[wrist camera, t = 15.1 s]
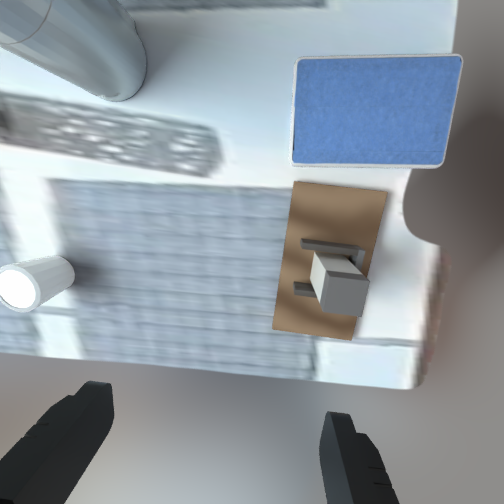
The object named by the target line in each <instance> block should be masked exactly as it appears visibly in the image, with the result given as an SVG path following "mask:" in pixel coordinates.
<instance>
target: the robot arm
mask: <svg viewBox="0 0 504 504" xmlns="http://www.w3.org/2000/svg"><path fill="white" fill-rule="evenodd" d="M0 47H2V48H4V49H5V50H7V51H9V52H11V53H13V54H15V55H17V56H19V57H21V58H23V59H25V60H27V61H29V62H31V63H33V64H35V65H37V66H39V67H41V68H43V69H45V70H47V71H49V72H51V73H53V74H55V75H57V76H59V77H61V78H63V79H65V80H67V81H69V82H70V83H72V84H74V85H76V86H78V87H80V88H82V89H84V90H86V91H88V92H89V93H91V94H93V95H96V96H98V97H100V98H102V99H105V100H108V101H112V102H114V101H123V100H126V99H128V98H130V97H132V96H133V95H134V94H135V93H136V92H137V91H138V90H139V88H140V87H141V85H142V83H143V81H144V78H145V74H146V69H147V63H146V54H145V50H144V47H143V44H142V42H141V40H140V38H139V37H138V35H137V33H136V31H135V21H134V20H133V19H132V17H131V16H130V15H129V14H128V13H127V12H126V10H125V9H124V8H123V7H122V6H121V4H120V3H119V2H118V1H117V0H0ZM113 419H114V406H113V394H112V386H111V384H110V383H103V382H95V381H88V382H86V383H85V384H84V385H83V386H82V387H81V388H80V389H79V391H78V392H77V393H76V394H75V395H74V396H71V395H68V396H66V397H65V398H63V399H62V400H60V401H59V402H57V403H56V404H54V405H53V406H51V407H50V408H49V410H48V411H47V412H46V413H45V414H44V415H43V416H42V417H41V418H40V419H39V420H38V421H37V423H36V425H33V426H32V427H31V428H30V429H29V431H28V432H27V433H26V434H25V436H24V437H23V438H21V439H20V440H19V441H18V442H17V443H16V444H15V445H14V447H12V449H10V451H9V452H8V453H7V454H6V455H5V456H4V457H3V458H2V459H1V460H0V504H64V503H65V502H66V500H67V498H68V497H69V495H70V494H71V492H72V491H73V489H74V487H75V486H76V484H77V483H78V481H79V479H80V478H81V476H82V475H83V473H84V471H85V470H86V468H87V467H88V465H89V464H90V462H91V460H92V459H93V457H94V456H95V454H96V452H97V451H98V449H99V448H100V446H101V444H102V443H103V441H104V440H105V438H106V436H107V435H108V433H109V431H110V429H111V427H112V424H113ZM319 455H320V464H321V470H322V476H323V481H324V487H325V493H326V498H327V504H399V501H398V499H397V497H396V494H395V491H394V489H392V484H391V481H390V479H389V476H388V474H387V473H386V470H385V466H384V464H383V461H382V459H381V456H380V454H379V451H378V449H377V448H376V447H375V445H374V444H373V443H372V441H371V440H370V439H369V437H368V436H367V435H366V434H363V433H356V430H355V427H354V424H353V422H352V419H351V416H350V415H349V414H345V413H337V412H329V411H328V412H327V413H326V416H325V421H324V425H323V430H322V434H321V439H320V446H319Z"/></svg>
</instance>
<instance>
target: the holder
mask: <svg viewBox="0 0 504 504" xmlns="http://www.w3.org/2000/svg"><path fill="white" fill-rule="evenodd" d="M387 193H388V192H383V191H375V190H366V189H357V188H348V187H340V186H331V185H322V184H314V183H305V182H296V181H294V184H293V191H292V198H291V204H290V211H289V218H288V225H287V231H286V238H285V245H284V251H283V258H282V265H281V272H280V278H279V285H278V292H277V298H276V305H275V312H274V318H273V325H272V329H274V330H281V331H288V332H295V333H302V334H309V335H316V336H323V337H329V338H336V339H343V340H350V341H351V340H352V336H353V332H354V328H355V324H356V320H357V316H350V315H343V314H335V313H327V312H323V311H322V308H321V306H320V303H319V300H318V298H317V295H316V293H315V290H314V288H313V285H312V283H311V280H310V275H311V269H312V263H313V257H314V252H320V253H329V254H338V255H344V256H345V257H346V258H347V259H348V260H349V261H350V262H351V263H352V264H353V265H354V266H355V267H356V268H357V269H358V270H359V271H360V272H361V273H362V274H363V275H364V276H365V277H366V278H367V275H368V271H369V267H370V263H371V258H372V254H373V250H374V246H375V242H376V238H377V234H378V230H379V226H380V222H381V217H382V213H383V209H384V205H385V201H386V197H387Z"/></svg>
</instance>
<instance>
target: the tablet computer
mask: <svg viewBox="0 0 504 504" xmlns="http://www.w3.org/2000/svg"><path fill="white" fill-rule="evenodd" d="M463 62H464V61H463V57H462V56H461V55H459V54H414V55H361V56H347V55H346V56H318V57H300V58H298V59H297V60H296V61H295V64H294V70H293V90H292V108H291V127H290V145H289V163H290V164H291V165H292V166H294V167H356V168H430V169H432V168H433V169H434V168H438V167H439V166H441V165H442V164H443V162H444V159H445V155H446V149H447V144H448V139H449V134H450V129H451V124H452V118H453V113H454V108H455V103H456V97H457V93H458V88H459V83H460V77H461V73H462V68H463Z"/></svg>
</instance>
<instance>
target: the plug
mask: <svg viewBox="0 0 504 504" xmlns="http://www.w3.org/2000/svg"><path fill="white" fill-rule="evenodd" d="M310 280H311V283H312V285H313V288H314V290H315V293H316V295H317V298H318V300H319V303H320V306H321V308H322V311H323V312H327V313H335V314H343V315H350V316H358V317H362V313H363V308H364V304H365V300H366V295H367V291H368V287H369V283H370V281H369V280H368V279H367V278H366V277H365V276H364V275H363V274H362V273H361V272H360V271H359V270H358V269H357V268H356V267H355V266H354V265H353V264H352V263H351V262H350V261H349V260H348V259H347V258H346V257H345V256H344V255H338V254H329V253H320V252H314V257H313V263H312V269H311V275H310Z"/></svg>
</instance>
